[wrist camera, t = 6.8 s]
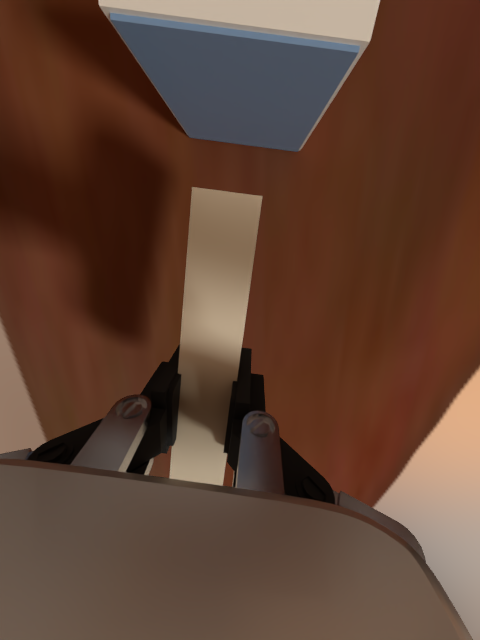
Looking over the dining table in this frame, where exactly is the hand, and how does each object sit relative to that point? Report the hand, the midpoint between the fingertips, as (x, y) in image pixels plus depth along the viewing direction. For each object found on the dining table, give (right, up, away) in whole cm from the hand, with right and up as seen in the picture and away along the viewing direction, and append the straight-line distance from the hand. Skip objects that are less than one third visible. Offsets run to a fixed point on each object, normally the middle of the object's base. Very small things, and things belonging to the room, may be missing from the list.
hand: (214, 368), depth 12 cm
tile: (+2, +16, +3) cm, 16 cm away
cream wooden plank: (0, 0, +1) cm, 1 cm away
